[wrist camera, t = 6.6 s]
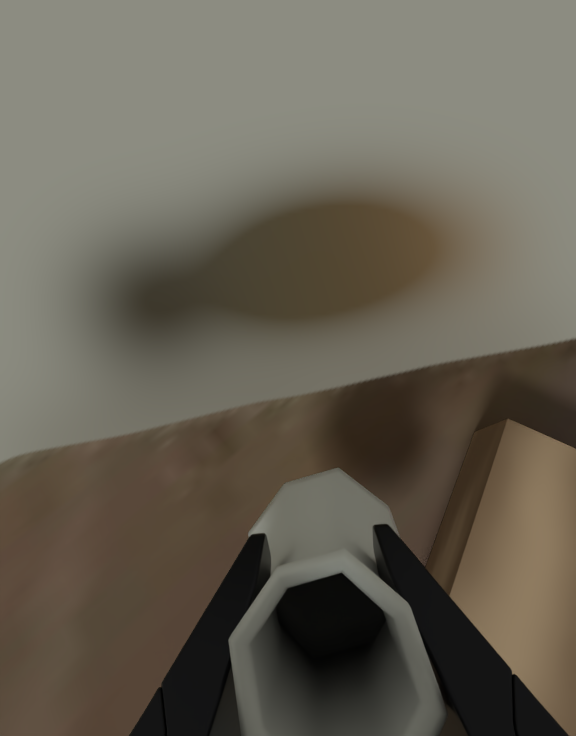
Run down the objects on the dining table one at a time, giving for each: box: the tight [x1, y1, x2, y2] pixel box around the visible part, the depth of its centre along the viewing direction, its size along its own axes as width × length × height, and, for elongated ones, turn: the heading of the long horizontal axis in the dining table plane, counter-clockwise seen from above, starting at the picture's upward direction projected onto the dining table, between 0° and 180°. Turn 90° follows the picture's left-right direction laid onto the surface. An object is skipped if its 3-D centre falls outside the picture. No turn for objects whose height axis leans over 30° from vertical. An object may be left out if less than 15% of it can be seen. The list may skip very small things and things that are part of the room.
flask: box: [228, 468, 448, 736], centre depth 9 cm, size 7×7×10 cm
